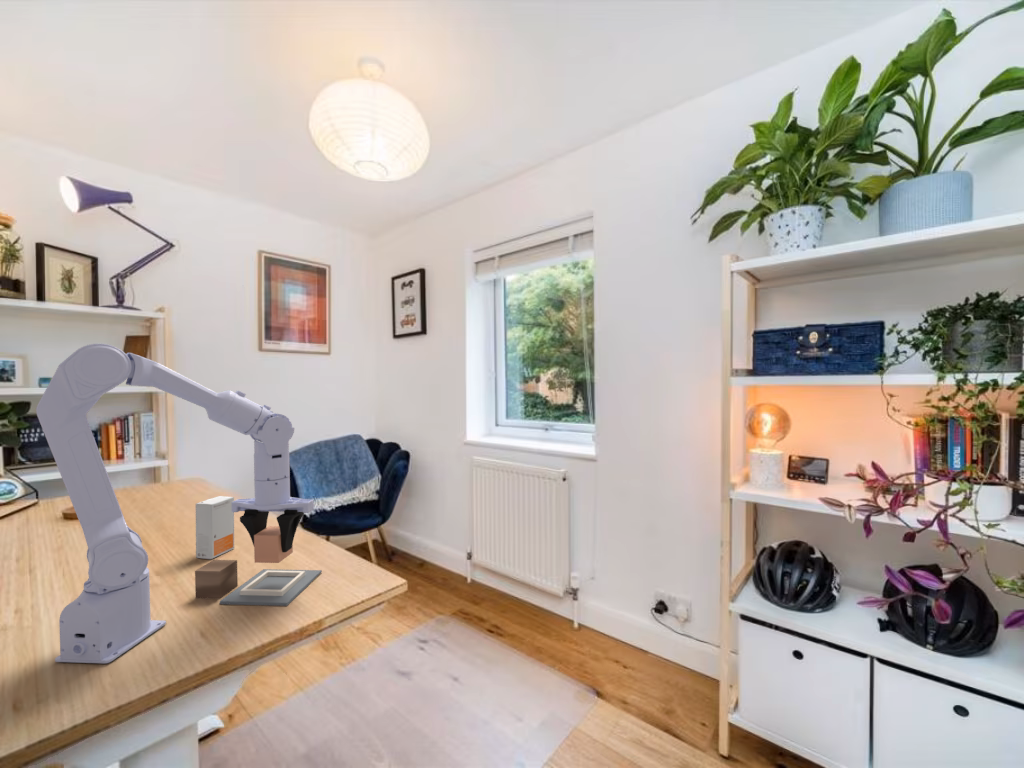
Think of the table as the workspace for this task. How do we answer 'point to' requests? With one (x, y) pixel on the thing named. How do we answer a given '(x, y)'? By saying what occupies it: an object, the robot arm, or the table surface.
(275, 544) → the terracotta block
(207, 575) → the walnut block
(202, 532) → the skincare box
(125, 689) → the table surface
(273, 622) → the table surface
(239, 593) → the board
